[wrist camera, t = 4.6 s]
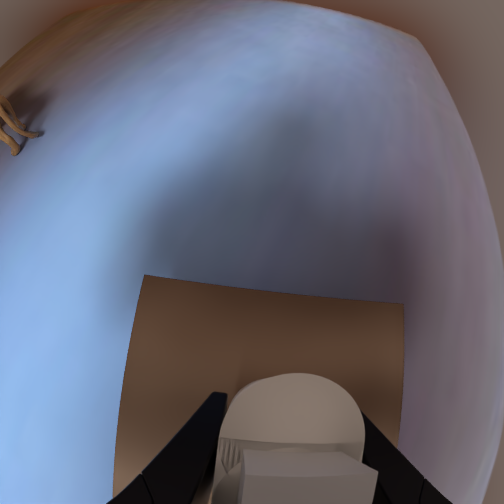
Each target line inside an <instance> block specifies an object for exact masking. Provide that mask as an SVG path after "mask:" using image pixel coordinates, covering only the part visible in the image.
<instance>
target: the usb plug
mask: <svg viewBox="0 0 504 504" xmlns="http://www.w3.org/2000/svg"><path fill="white" fill-rule="evenodd" d="M364 442H365V427H364V421H363V417H362V414H361V412H360V409H359V407H358V405H357V404H356V402H355V401H354V399H353V398H352V397H351V395H350V394H349V393H348V392H347V391H346V390H345V389H343V388H342V387H341V386H339V385H338V384H336V383H335V382H333V381H331V380H329V379H326V378H324V377H321V376H317V375H313V374H307V373H289V374H282V375H278V376H274V377H269V378H265V379H260V380H256V381H254V382H251V383H249V384H247V385H246V386H244V387H243V388H242V389H241V390H239V392H238V393H237V394H236V395H235V396H234V398H233V400H232V401H231V403H230V406H229V408H228V411H227V413H226V415H225V418H224V420H223V423H222V426H221V429H220V434H219V441H218V449H217V457H216V465H215V474H214V482H213V490H212V499H211V504H372V501H373V497H374V492H375V487H376V482H377V476H378V471H376V470H374V469H372V468H370V467H368V466H366V465H365V464H363V463H362V456H363V449H364Z"/></svg>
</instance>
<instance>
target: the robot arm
mask: <svg viewBox="0 0 504 504" xmlns="http://www.w3.org/2000/svg"><path fill="white" fill-rule="evenodd" d="M227 402H228V394H227V393H224V392H217V391H214V392H212V393H211V394H210V395H209V396H208V398H207V399H206V400H205V401H204V402H203V403H202V405H201V406H200V407H199V408H198V409H197V410H196V412H195V413H194V414H193V415H192V416H191V417H190V419H189V420H188V421H187V422H186V423H185V424H184V425H183V427H182V428H181V429H180V430H179V431H178V432H177V433H176V434H175V436H174V437H173V438H172V439H171V440H170V441H169V442H168V443H167V444H166V445H165V447H164V448H163V449H162V450H161V451H160V452H159V453H158V454H157V455H156V456H155V457H154V459H153V460H152V461H151V462H150V463H149V464H148V465H147V466H146V467H145V468H144V469H143V470H142V471H141V473H142V474H138V475H137V476H136V477H135V478H134V479H133V480H132V482H131V483H129V484H128V485H127V486H126V487H125V488H124V489H123V490H122V491H121V492H120V493H119V494H118V495H117V496H115V497H114V498H113V499H111V500H110V501H109V502H108V503H106V504H208V501H209V498H210V494H211V491H212V488H213V482H214V474H215V465H216V457H217V449H218V441H219V434H220V429H221V426H222V423H223V420H224V418H225V415H226V413H227ZM359 409H360V408H359ZM360 412H361V414H362V417H363V421H364V427H365V442H364V449H363V456H362V463H363V464H365V465H366V466H368V467H370V468H372V469H374V470H376V471H378V476H377V482H376V487H375V492H374V497H373V501H372V504H453V503H451V502H450V501H449V500H448V499H447V498H445V497H444V496H443V495H442V494H441V493H440V492H439V491H438V490H437V489H436V488H435V487H434V486H433V485H432V484H431V483H430V482H429V481H428V480H427V479H424V476H423V475H422V474H421V473H420V472H419V471H418V470H417V469H416V468H415V467H414V466H413V465H412V464H411V463H410V462H409V461H408V460H407V459H406V458H405V456H404V455H403V454H402V453H401V452H400V451H399V450H398V449H397V448H396V447H395V446H394V445H393V444H392V443H391V442H390V441H389V440H388V439H387V437H386V436H385V435H384V434H383V433H382V432H381V431H380V430H379V429H378V428H377V427H376V426H375V425H374V424H373V422H372V421H371V420H370V419H369V418H368V417H367V416H366V415H365V414H364V413H363V412H362V411H361V409H360Z"/></svg>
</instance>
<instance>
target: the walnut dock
mask: <svg viewBox="0 0 504 504" xmlns="http://www.w3.org/2000/svg"><path fill="white" fill-rule="evenodd" d="M289 373H307V374H313V375H317V376H321V377H324V378H326V379H329V380H331V381H333V382H335V383H336V384H338V385H339V386H341V387H342V388H343V389H345V390H346V391H347V392H348V393H349V394H350V395H351V397H352V398H353V399H354V401H355V402H356V404H357V405H358V407H359V408H360V409H361V411H362V412H363V413H364V414H365V415H366V416H367V417H368V418H369V419H370V420H371V421H372V422H373V424H374V425H375V426H376V427H377V428H378V429H379V430H380V431H381V432H382V433H383V434H384V435H385V436H386V437H387V439H388V440H389V441H390V442H391V443H392V444H393V445H394V446H395V447H396V448H397V445H398V437H399V429H400V419H401V409H402V395H403V377H404V306H403V304H398V303H385V302H372V301H360V300H349V299H338V298H327V297H317V296H307V295H298V294H288V293H279V292H270V291H262V290H253V289H245V288H237V287H229V286H221V285H213V284H206V283H198V282H191V281H184V280H177V279H170V278H163V277H156V276H150V275H144V278H143V282H142V286H141V291H140V295H139V299H138V304H137V309H136V313H135V318H134V323H133V328H132V333H131V338H130V343H129V349H128V354H127V360H126V366H125V372H124V379H123V386H122V393H121V400H120V408H119V416H118V425H117V435H116V446H115V459H114V476H113V498H114V497H115V496H117V495H118V494H119V493H120V492H121V491H122V490H123V489H124V488H125V487H126V486H127V485H128V484H129V483H131V482H132V480H133V479H134V478H135V477H136V476H137V475H138V474H142V473H141V471H142V470H143V469H144V468H145V467H146V466H147V465H148V464H149V463H150V462H151V461H152V460H153V459H154V457H155V456H156V455H157V454H158V453H159V452H160V451H161V450H162V449H163V448H164V447H165V445H166V444H167V443H168V442H169V441H170V440H171V439H172V438H173V437H174V436H175V434H176V433H177V432H178V431H179V430H180V429H181V428H182V427H183V425H184V424H185V423H186V422H187V421H188V420H189V419H190V417H191V416H192V415H193V414H194V413H195V412H196V410H197V409H198V408H199V407H200V406H201V405H202V403H203V402H204V401H205V400H206V399H207V398H208V396H209V395H210V394H211V393H212V392H214V391H217V392H224V393H227V394H228V402H227V411H228V408H229V406H230V403H231V401H232V400H233V398H234V396H235V395H236V394H237V393H238V392H239V390H241V389H242V388H243V387H244V386H246V385H247V384H249V383H251V382H254V381H256V380H260V379H265V378H269V377H274V376H278V375H282V374H289ZM212 490H213V488H212ZM211 499H212V491H211V494H210V498H209V501H208V504H211Z"/></svg>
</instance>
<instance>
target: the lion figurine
mask: <svg viewBox="0 0 504 504" xmlns="http://www.w3.org/2000/svg"><path fill="white" fill-rule="evenodd" d="M0 116H1V117H2V118H3V120H4V121H5V122H6V123H7V124H8V125H9V126H10V127H11V128H12V129H13V130H14V131H16V132H17V133H19V134H20V135H23V136H26V137H29V138H31V139H33V138H36V137H38V135H39V133H38V132H32V131H24V130H25V128H26V126H25V124H22V123H21V122H20V121H19V120H18V119H17V117H16V115H15V113H14V111H13V109H12V106H11V104H10V103H9V101H8V100H7V99H6V98H5V97H4V96H2V95H1V94H0ZM0 139H1V140H2V141H4V142H5V143H6V144H8V145H9V146H10V147H11V148H12V149H11V154H12V155H13V156H15V155H17V154H18V153H19V151H20V146H19V144H18V143H17V142H16V141H15V140H14V139H13V138H12V137H11V136H9V135H7V134H6V133H5V132H4V130H3V128H2V125H1V123H0Z"/></svg>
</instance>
